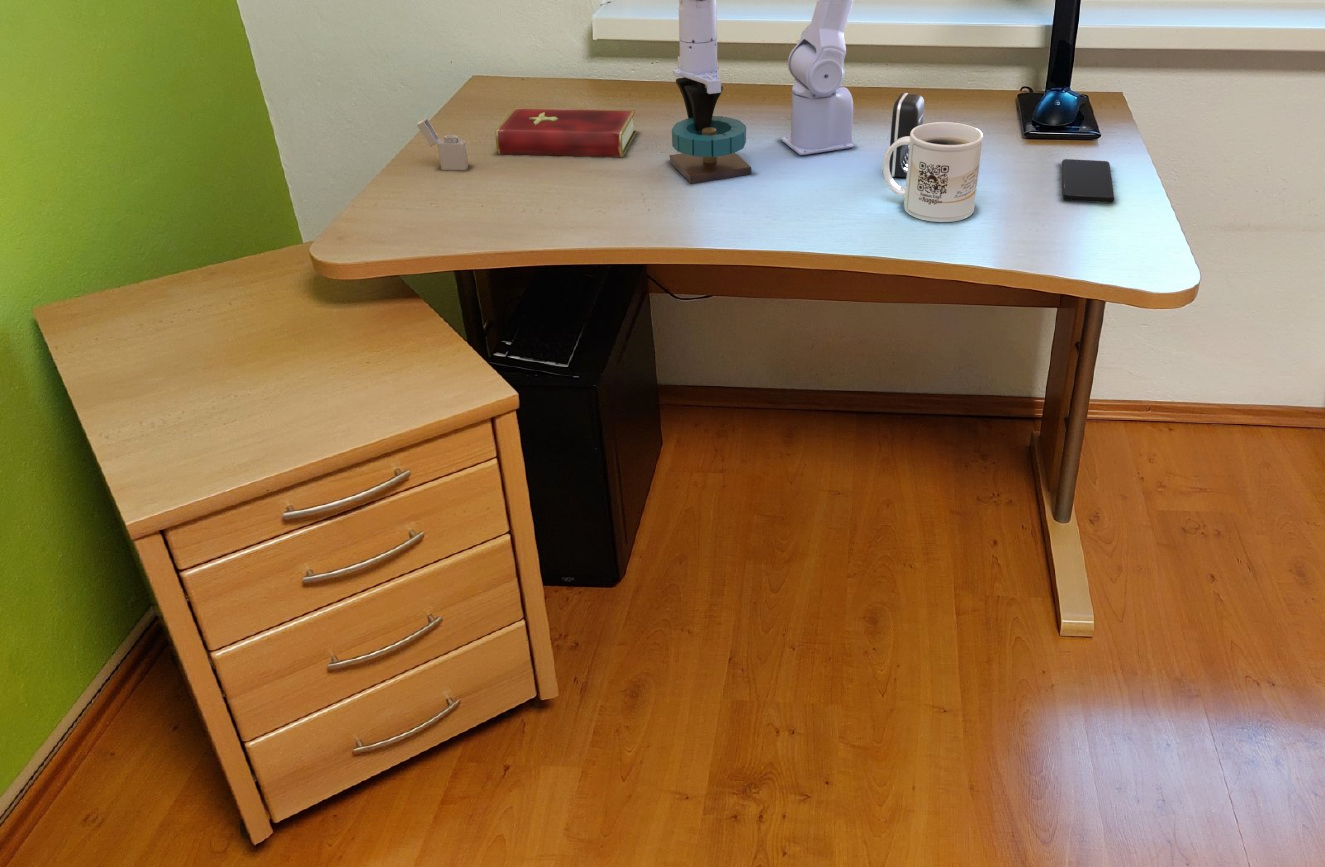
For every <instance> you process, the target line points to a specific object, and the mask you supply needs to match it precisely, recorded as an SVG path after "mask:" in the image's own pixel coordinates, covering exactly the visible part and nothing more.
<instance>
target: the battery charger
mask: <svg viewBox="0 0 1325 867" xmlns="http://www.w3.org/2000/svg"><path fill="white" fill-rule="evenodd" d="M924 115H925V100H924V97H923V96H922V95H920V94H917V93H916V94H915V93H909V92H904V93H900V94H899V96H898V97H897V98H896V100H895V102H894V104H893V107H892V115H891V128H890V140H889V147H890V146H891V145H892V144H893V143H894V142H895V141H896V140H898V139H899V138H902V137H906V136H910V132H911V131H912V129H913V128H915V127H917V126H919V125H923V124H924ZM908 154H909V145H901V146H899V147H897V148H896V149H894V151H893V152H892V154H891V157H890V162H889V169H890V174H891V176H892V178H895V177H896V178H906V176H907V165H908Z"/></svg>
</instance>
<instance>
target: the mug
mask: <svg viewBox="0 0 1325 867" xmlns="http://www.w3.org/2000/svg"><path fill="white" fill-rule="evenodd" d="M983 141H984V134H983V132H982V131H981V130H980V129H979V128H976V127H975V126H972V125H969V124H965V123H959V122H950V121H937V122H936V121H935V122H929V123H923V125H919V126H917V127H915V128H913V129H912V131H911V132H910V136H906V137H902V138H899V139H898V140H896V141H895V142H894V143H893V144H892V145H891V146H890V145H889V148H888V149H887V150H886V152H885V154H884V155H883V160H882V176H883V180H884V182H885V183H886V186H887V187H888V189H889V190H891V192H893V193H894V194H895V195H898V196H900V197H904V201H903V209H904V211H905V213H907V214H908V215H910V216H911V217H913V218H916V219H919V220H921V221H927V222H933V223H951V222H952V223H953V222H958V221H963V220H965V219H967V218H969V217H971V216H972V214H973V213H974V211H975V207H976V206H975V205H976V197H977V190H978V189H977V188H978V181H979V173H980V166H981V159H982V158H981V157H982V149H983ZM901 145H909V146H908V147H909V154H908V165H907V176H906V177H905V187H903V186H901V185H900V184H898V183H897V182H896V181H895V180H894V177H892V176H891V174H890V169H889V162H890V157H891V154H892V152H893V151H894V149H896V148H897V147H899V146H901Z"/></svg>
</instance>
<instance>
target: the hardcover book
mask: <svg viewBox="0 0 1325 867" xmlns="http://www.w3.org/2000/svg"><path fill="white" fill-rule="evenodd" d="M635 113H636V110H635V109H598V108H597V109H596V108H595V109H592V108H590V109H589V108H545V107H544V108H543V107H542V108H540V107H539V108H536V107H514V108H513V109H512V110H511V111H510V112H509V114H508V115H507V117H505V118H504V120H503V121H502V122H501V123H500V124H499V126H498V127H497V128H496V129H495V131H494V132H495V135H494V136H495V146H496V150H497V155H517V156H518V155H520V156H521V155H522V156H525V155H526V156H561V157H563V156H564V157H565V156H566V157H596V158H597V157H599V158H601V157H603V158H606V157H607V158H624V156H625V154H626V153H627V151H628V149H629V147H630V146H631V144H632V141H633V139H634V138H635V136H636V134H637V130H634V121H633V118H634V116H635Z"/></svg>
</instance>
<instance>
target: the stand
mask: <svg viewBox="0 0 1325 867" xmlns="http://www.w3.org/2000/svg"><path fill="white" fill-rule="evenodd" d="M702 135H717V130H716V129H715V128H711V127H709V128H704V129H703V130H702ZM669 163H670V164H671V165H672V166H673V167H674V169H676V170H677V172H678V173H680V175H681V176H682V177H683V178H684V179H685V180H686V181H687V182H688V183H689V184H690V185H693V184H697V183H703V182H710V181H717V180H723V179H729V178H735V177H741V176H742V177H743V176H748V175H752V166H751V165H749V163H747V162H746V161H745V160H744V159H743V158H742V157H740V155H738V153H737V152H735V153H733V154H730V155H723V156H716V157H713V156H712V157H698V156H694V155H693V156H691V155H687V154H684V153H675V154H670V155H669Z"/></svg>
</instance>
